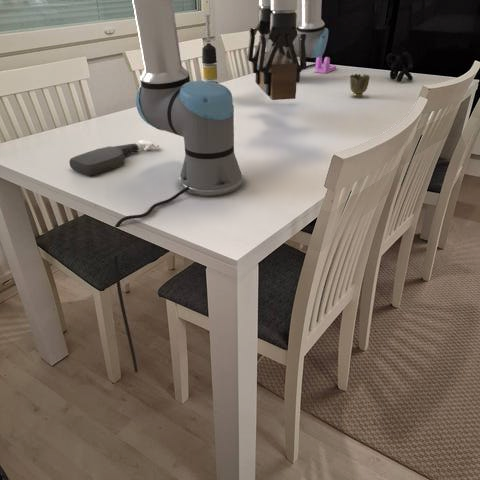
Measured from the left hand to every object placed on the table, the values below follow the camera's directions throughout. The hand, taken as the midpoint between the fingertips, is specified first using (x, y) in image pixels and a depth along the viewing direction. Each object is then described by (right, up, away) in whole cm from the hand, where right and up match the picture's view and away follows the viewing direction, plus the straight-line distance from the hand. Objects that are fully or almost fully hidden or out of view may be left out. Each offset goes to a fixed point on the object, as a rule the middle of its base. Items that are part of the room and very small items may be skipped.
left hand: (280, 93), depth 138 cm
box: (-1, +3, +7) cm, 8 cm away
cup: (+34, +11, +39) cm, 53 cm away
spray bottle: (-47, -23, -14) cm, 54 cm away
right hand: (-3, +8, +13) cm, 16 cm away
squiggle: (+59, +26, +62) cm, 90 cm away
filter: (-24, +11, +40) cm, 48 cm away
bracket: (+30, +39, +82) cm, 96 cm away
